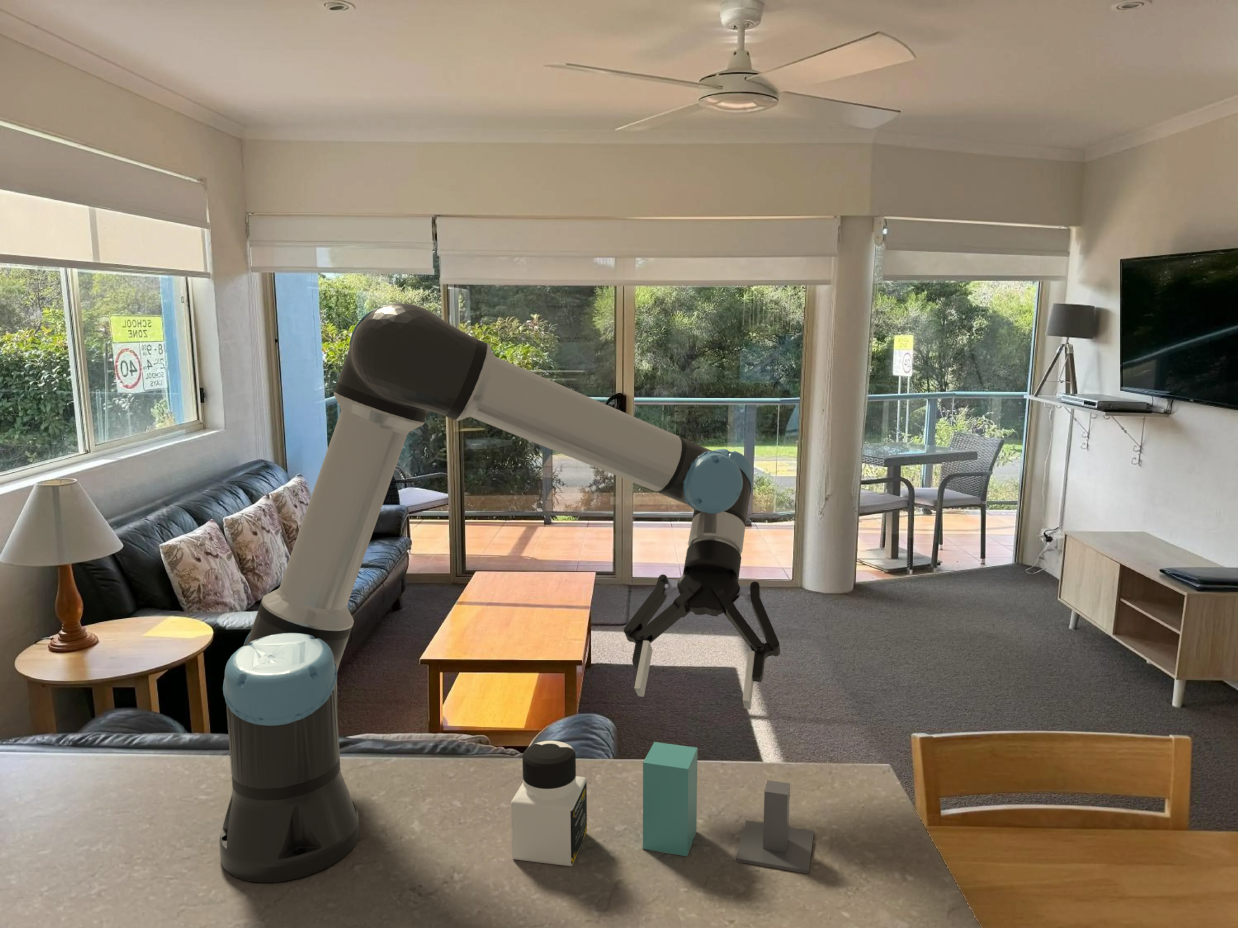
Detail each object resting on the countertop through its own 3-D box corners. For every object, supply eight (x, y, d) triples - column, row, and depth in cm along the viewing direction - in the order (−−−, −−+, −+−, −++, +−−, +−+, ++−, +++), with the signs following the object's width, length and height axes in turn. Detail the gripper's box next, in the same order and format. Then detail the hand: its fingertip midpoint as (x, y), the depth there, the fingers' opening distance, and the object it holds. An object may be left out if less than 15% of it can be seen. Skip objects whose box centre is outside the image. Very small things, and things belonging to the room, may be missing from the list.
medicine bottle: (572, 867, 98) (571, 766, 96) (511, 860, 99) (508, 760, 98) (587, 832, 105) (586, 737, 103) (530, 825, 106) (528, 731, 104)
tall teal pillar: (642, 848, 102) (643, 762, 100) (653, 824, 106) (654, 741, 105) (687, 856, 100) (688, 768, 98) (696, 831, 105) (697, 747, 103)
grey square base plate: (735, 861, 99) (736, 799, 98) (746, 822, 107) (747, 765, 106) (808, 873, 97) (810, 810, 96) (813, 833, 104) (815, 775, 103)
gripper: (807, 571, 121) (794, 721, 110) (632, 558, 128) (602, 698, 116) (805, 543, 116) (792, 698, 104) (622, 531, 122) (589, 675, 111)
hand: (691, 698), depth 110 cm, fingers open, 13 cm apart
